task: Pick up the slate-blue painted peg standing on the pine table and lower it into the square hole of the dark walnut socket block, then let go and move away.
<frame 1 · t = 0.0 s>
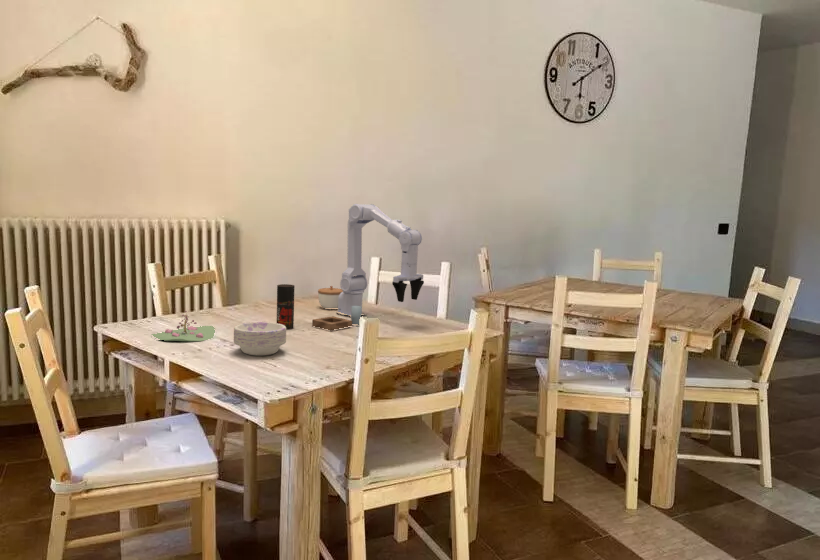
hand: (407, 300, 230), 10 cm above the table, tool pointing down, fingers open, 7 cm apart
socket block: (332, 327, 227), on the table
lidded jar: (330, 309, 261), on the table
deodorant: (285, 328, 222), on the table
paper bowls: (259, 352, 189), on the table
plant: (188, 335, 207), on the table
peg: (355, 325, 232), on the table
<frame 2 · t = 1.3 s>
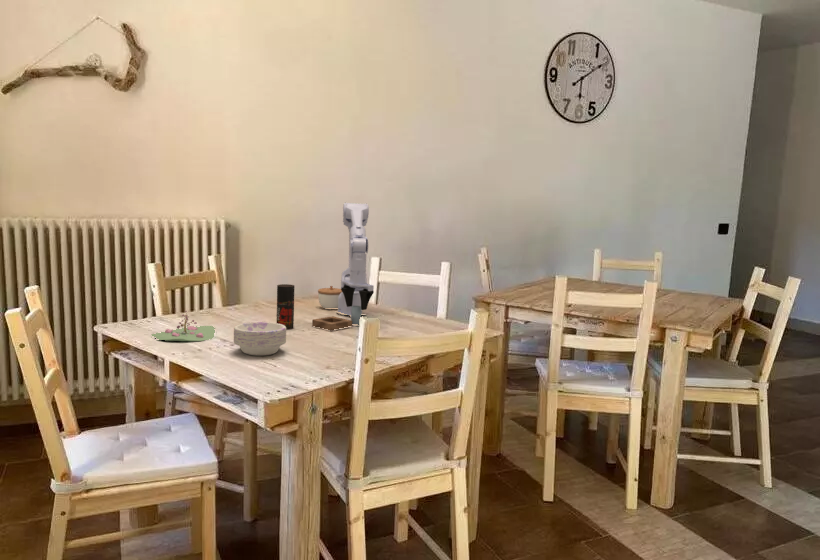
hand: (356, 308, 231), 6 cm above the table, tool pointing down, fingers open, 7 cm apart
nothing on the table moved.
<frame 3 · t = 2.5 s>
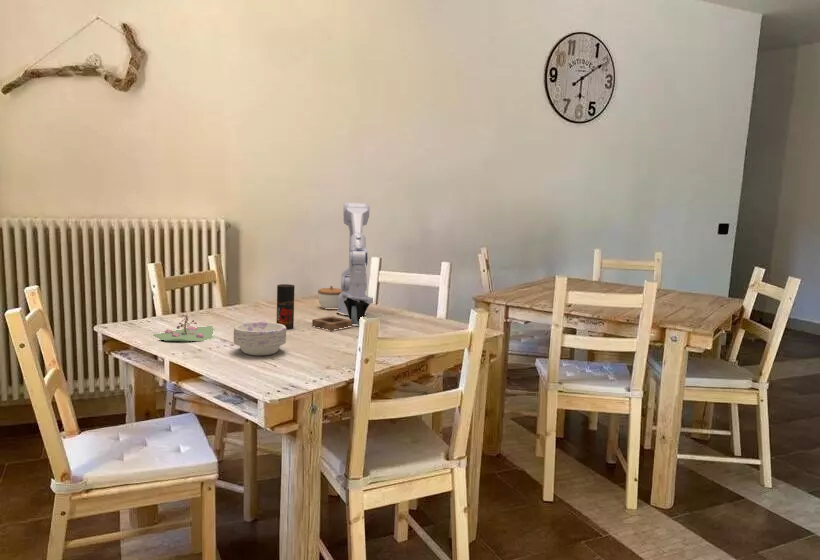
hand: (356, 320, 231), 2 cm above the table, tool pointing down, fingers closed on peg, 4 cm apart
peg: (355, 325, 232), on the table, touching gripper
everything else where it was.
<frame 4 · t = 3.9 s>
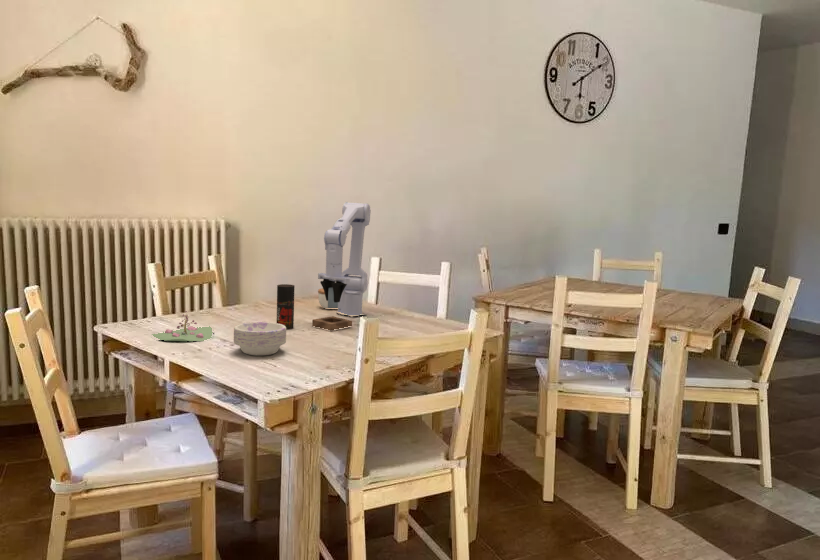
hand: (332, 301, 226), 9 cm above the table, tool pointing down, fingers closed on peg, 4 cm apart
peg: (332, 307, 226), point 7 cm above the table, touching gripper
everything else where it was.
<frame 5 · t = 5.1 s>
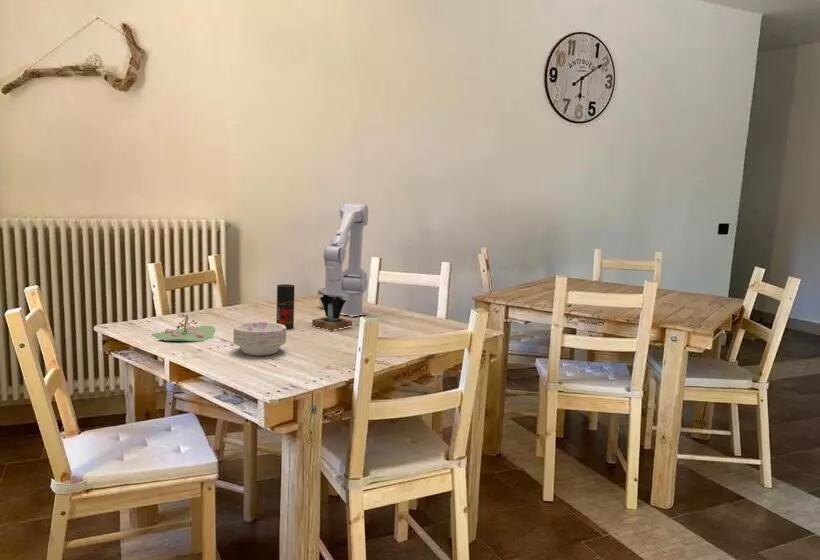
hand: (332, 317, 226), 4 cm above the table, tool pointing down, fingers closed on peg, 3 cm apart
peg: (332, 323, 227), point 1 cm above the table, touching gripper
everything else where it was.
when the fingers open (4 cm above the table, at t = 5.3 s): peg drops 1 cm, resting in socket block.
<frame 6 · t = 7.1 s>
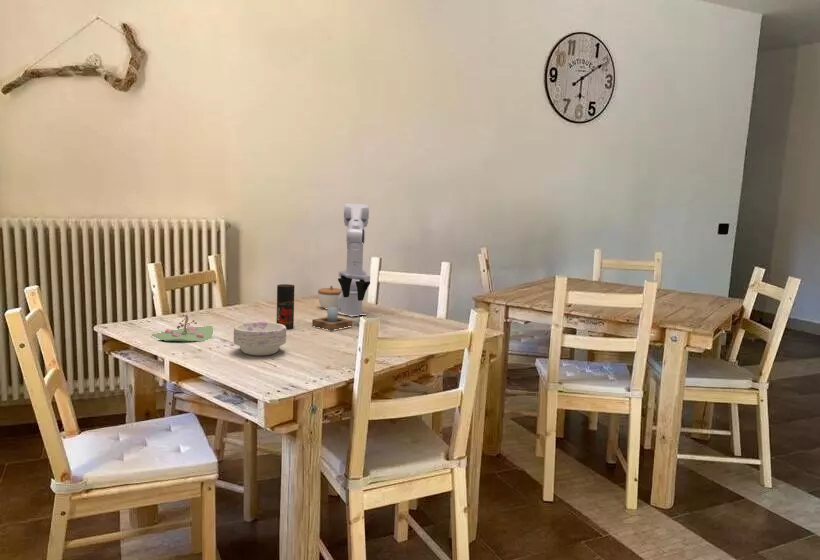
hand: (353, 298, 230), 10 cm above the table, tool pointing down, fingers open, 7 cm apart
peg: (332, 327, 227), resting in socket block
everything else where it was.
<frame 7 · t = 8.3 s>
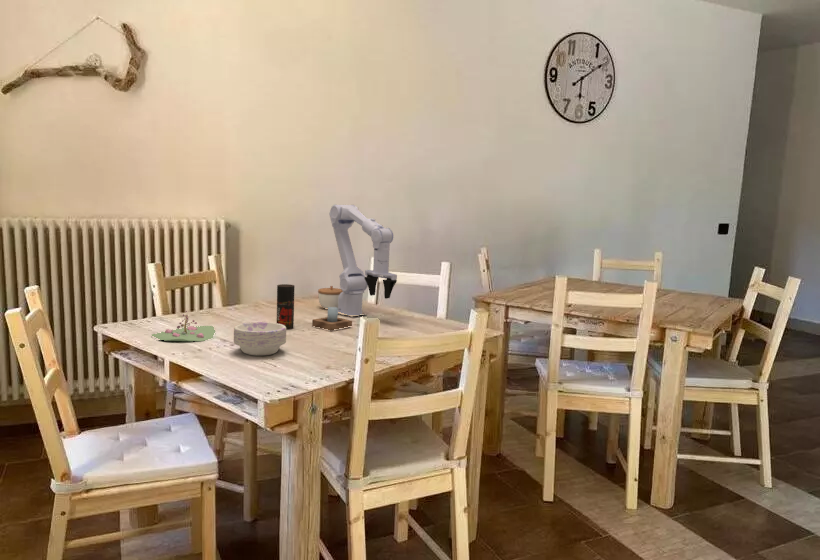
hand: (379, 296, 237), 10 cm above the table, tool pointing down, fingers open, 7 cm apart
nothing on the table moved.
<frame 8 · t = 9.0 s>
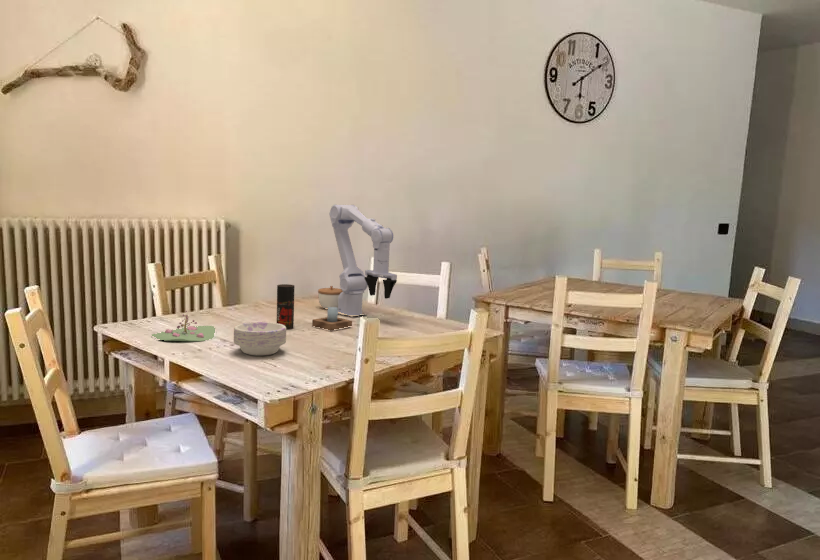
hand: (379, 296, 237), 10 cm above the table, tool pointing down, fingers open, 7 cm apart
nothing on the table moved.
at the end: peg 0.0 cm off-centre on the socket block, point 0.0 cm above the socket block's base; peg tilted 0°; the gripper is holding nothing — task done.
